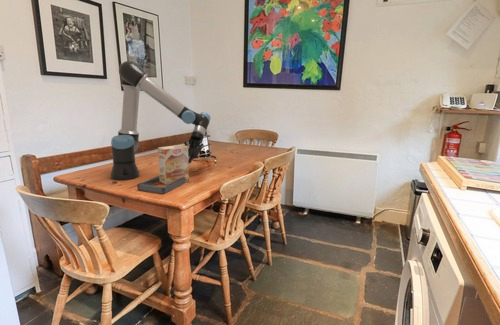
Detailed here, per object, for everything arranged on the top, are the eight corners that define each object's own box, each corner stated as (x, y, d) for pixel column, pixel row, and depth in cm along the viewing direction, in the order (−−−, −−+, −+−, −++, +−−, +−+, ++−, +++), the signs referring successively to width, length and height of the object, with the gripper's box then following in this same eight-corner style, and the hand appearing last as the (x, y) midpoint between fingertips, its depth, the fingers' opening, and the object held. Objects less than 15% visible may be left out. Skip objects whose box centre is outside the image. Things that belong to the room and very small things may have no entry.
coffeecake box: (166, 185, 152) (164, 149, 147) (159, 182, 156) (157, 147, 152) (189, 179, 163) (188, 145, 158) (182, 177, 167) (181, 144, 163)
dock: (137, 190, 143) (137, 184, 142) (161, 179, 162) (161, 174, 161) (163, 194, 138) (163, 188, 138) (185, 182, 157) (185, 177, 156)
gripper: (209, 138, 178) (197, 171, 166) (190, 137, 181) (178, 169, 170) (205, 131, 171) (193, 165, 160) (186, 130, 175) (172, 162, 164)
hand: (185, 167), depth 165 cm, fingers closed
